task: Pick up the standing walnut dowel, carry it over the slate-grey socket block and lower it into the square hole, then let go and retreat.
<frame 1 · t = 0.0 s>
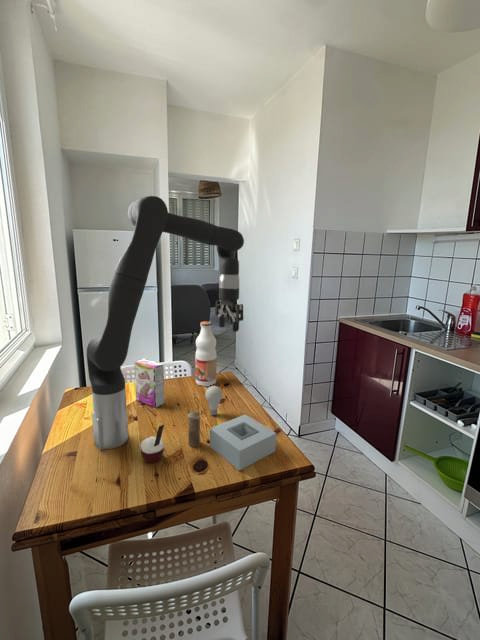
hand: (228, 329, 120), 29 cm above the table, fingers open, 8 cm apart
lightbulb: (213, 415, 115), on the table
socket block: (242, 448, 95), on the table
fruit juice: (206, 383, 143), on the table
candy bar box: (150, 402, 123), on the table
dowel: (194, 443, 97), on the table
cocoa: (153, 459, 89), on the table
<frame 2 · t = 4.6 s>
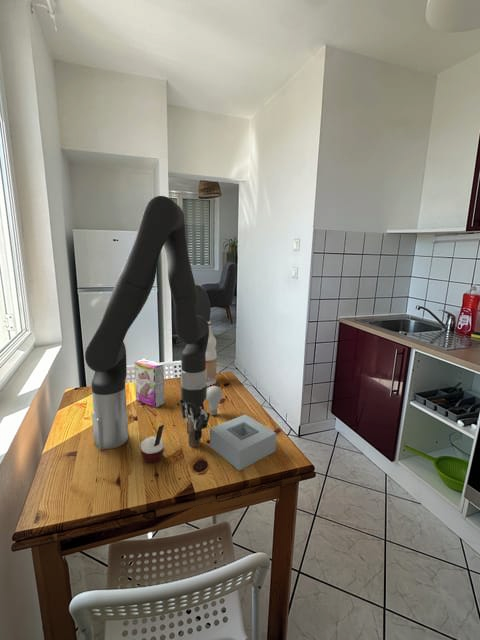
hand: (194, 435, 96), 3 cm above the table, fingers closed on dowel, 3 cm apart
dowel: (194, 443, 97), on the table, touching gripper
everything else where it was.
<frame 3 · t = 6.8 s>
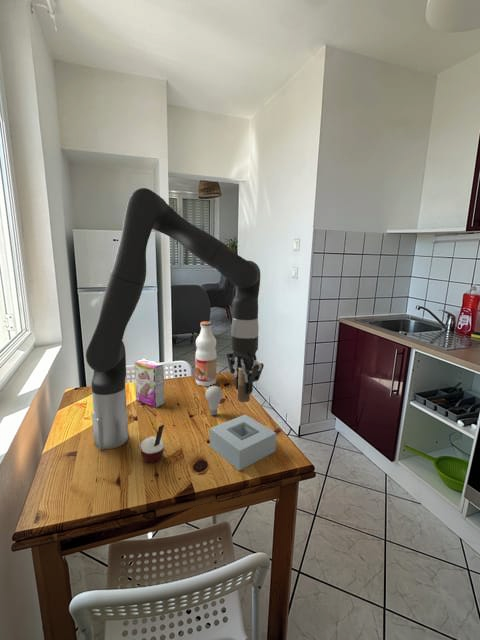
hand: (243, 391, 91), 19 cm above the table, fingers closed on dowel, 3 cm apart
dowel: (243, 399, 92), point 16 cm above the table, touching gripper
everything else where it was.
when the fingers open (7 cm above the table, at t = 9.1 s): dowel drops 4 cm, resting in socket block.
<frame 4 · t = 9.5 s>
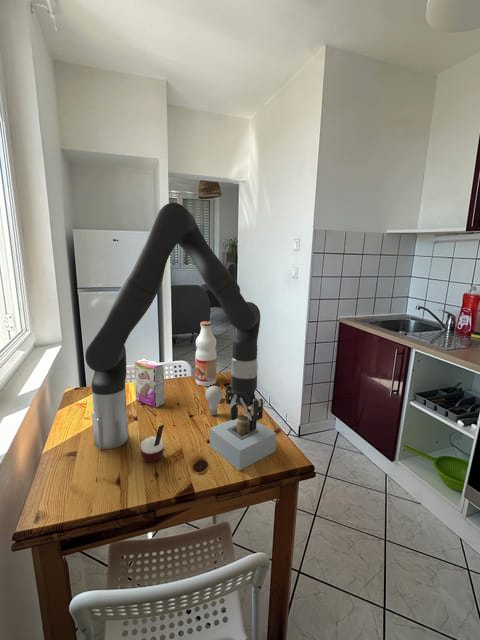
hand: (242, 424, 93), 8 cm above the table, fingers open, 7 cm apart
dowel: (242, 448, 95), resting in socket block
everything else where it was.
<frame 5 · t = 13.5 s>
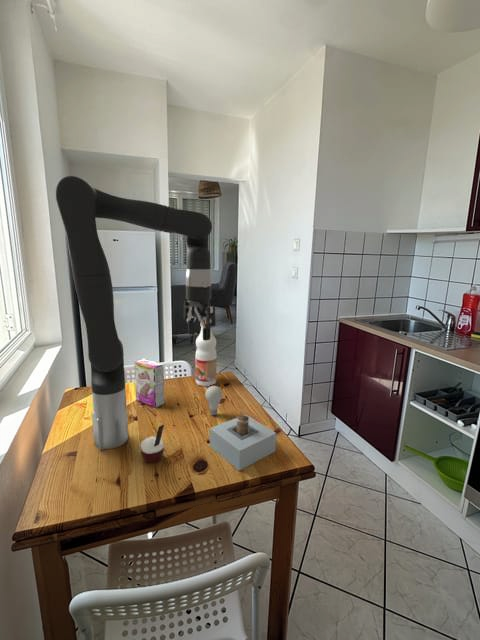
hand: (198, 336, 97), 32 cm above the table, fingers open, 8 cm apart
nothing on the table moved.
at the end: dowel 0.2 cm off-centre on the socket block, point 0.0 cm above the socket block's base; dowel tilted 0°; the gripper is holding nothing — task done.
